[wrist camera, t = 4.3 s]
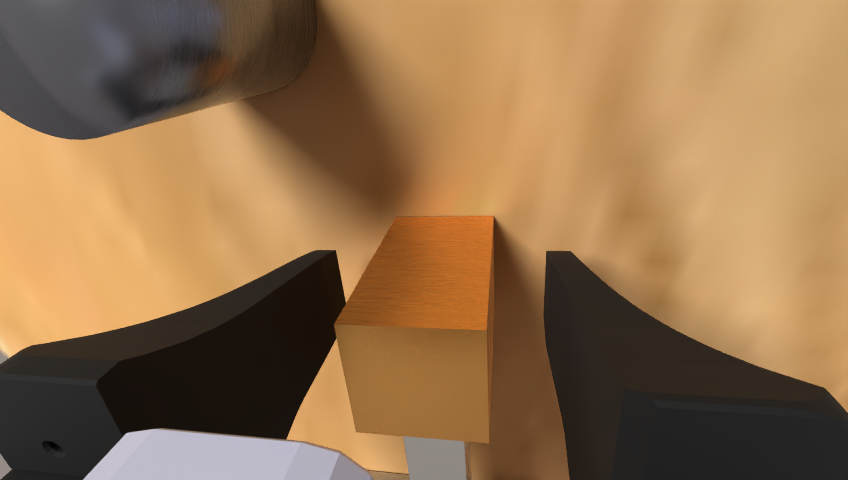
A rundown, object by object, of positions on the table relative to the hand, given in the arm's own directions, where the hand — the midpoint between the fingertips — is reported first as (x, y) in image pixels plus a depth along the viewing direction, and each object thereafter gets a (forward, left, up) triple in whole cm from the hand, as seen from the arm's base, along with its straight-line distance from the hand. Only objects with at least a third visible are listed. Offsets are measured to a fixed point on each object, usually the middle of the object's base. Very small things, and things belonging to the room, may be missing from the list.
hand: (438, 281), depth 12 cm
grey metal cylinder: (+5, -7, -2) cm, 9 cm away
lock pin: (0, +6, -2) cm, 6 cm away
